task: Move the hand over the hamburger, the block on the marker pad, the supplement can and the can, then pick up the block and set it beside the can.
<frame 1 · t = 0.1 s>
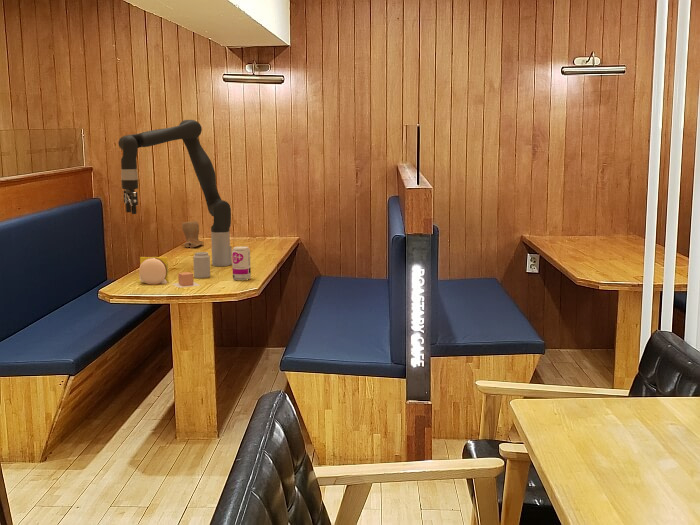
hand: (131, 213, 371), 29 cm above the table, tool pointing down, fingers open, 8 cm apart
can: (202, 278, 366), on the table
hamburger: (153, 284, 352), on the table
supplement can: (241, 279, 363), on the table
brown boot: (192, 246, 461), on the table
marker pad: (186, 285, 348), on the table
block: (186, 284, 348), resting on marker pad
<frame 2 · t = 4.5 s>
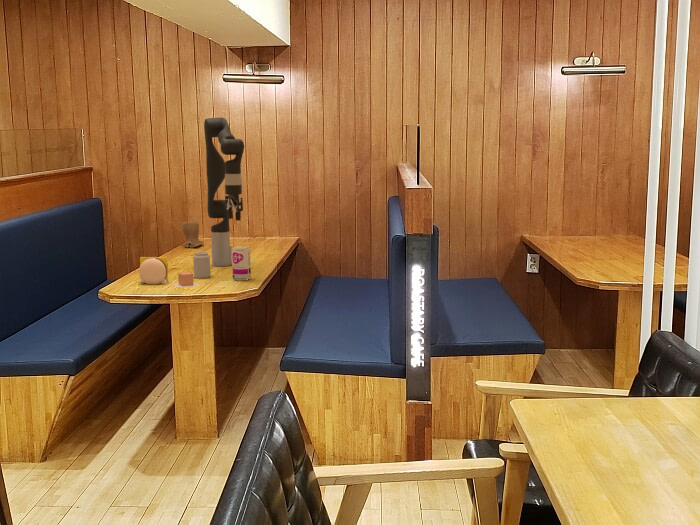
hand: (234, 219, 356), 28 cm above the table, tool pointing down, fingers open, 8 cm apart
nothing on the table moved.
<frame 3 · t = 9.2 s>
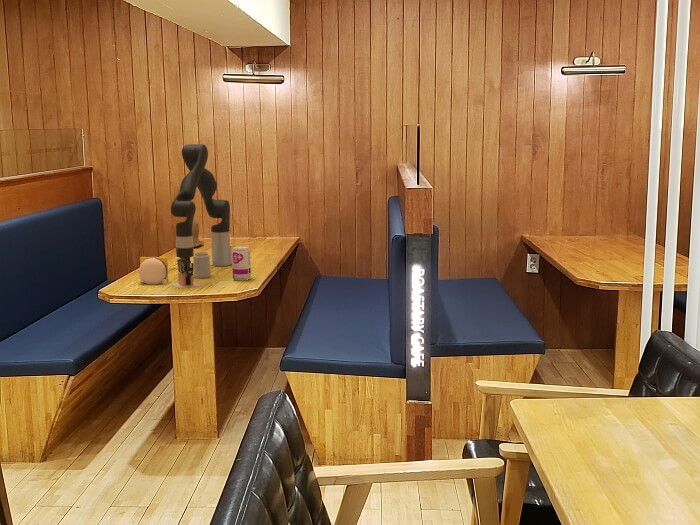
hand: (186, 283, 348), 1 cm above the table, tool pointing down, fingers closed on block, 5 cm apart
block: (186, 284, 348), point 1 cm above the table, touching gripper, marker pad
everything else where it was.
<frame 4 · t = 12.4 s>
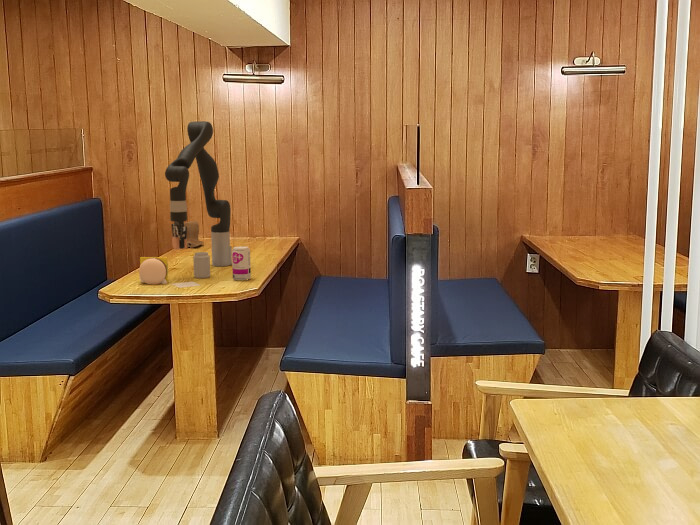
hand: (179, 247, 358), 15 cm above the table, tool pointing down, fingers closed on block, 5 cm apart
block: (179, 248, 358), point 15 cm above the table, touching gripper
everything else where it was.
when the fingers open (2 cm above the table, at t = 15.5 s): block drops 2 cm, on the table.
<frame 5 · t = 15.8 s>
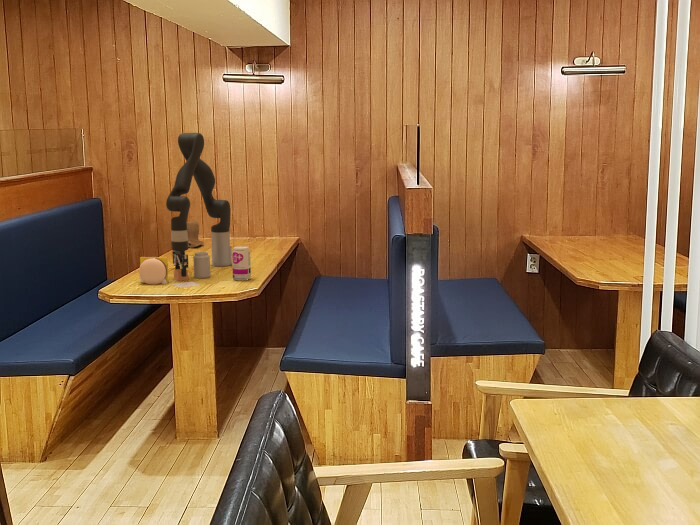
hand: (180, 275, 360), 2 cm above the table, tool pointing down, fingers open, 7 cm apart
block: (181, 280, 361), on the table
everything else where it was.
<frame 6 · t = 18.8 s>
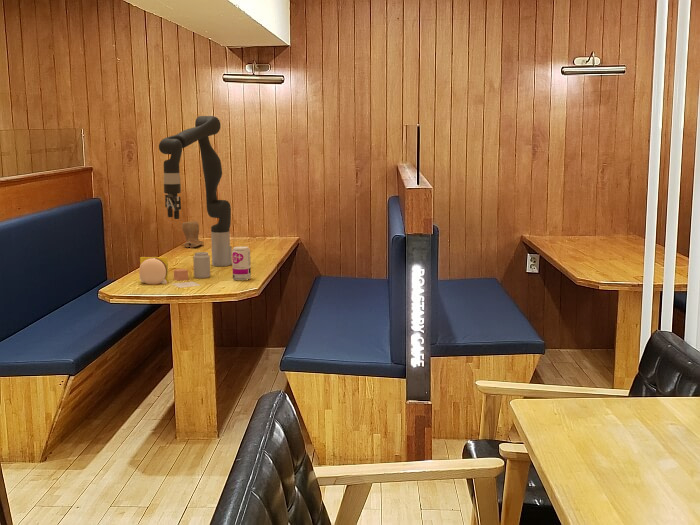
hand: (173, 218, 362), 28 cm above the table, tool pointing down, fingers open, 8 cm apart
nothing on the table moved.
at the end: block 10.3 cm from the can (horizontally); block on the table; can moved 0.2 cm from its start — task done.
